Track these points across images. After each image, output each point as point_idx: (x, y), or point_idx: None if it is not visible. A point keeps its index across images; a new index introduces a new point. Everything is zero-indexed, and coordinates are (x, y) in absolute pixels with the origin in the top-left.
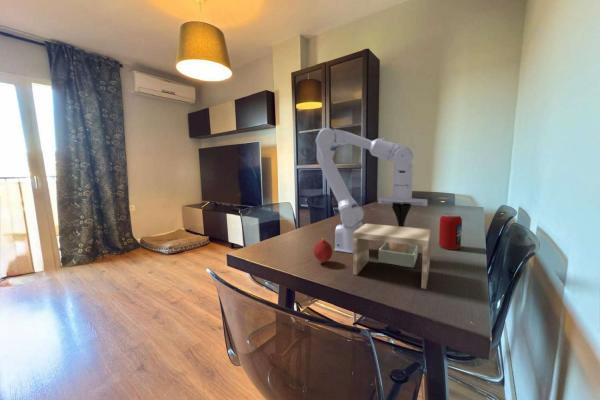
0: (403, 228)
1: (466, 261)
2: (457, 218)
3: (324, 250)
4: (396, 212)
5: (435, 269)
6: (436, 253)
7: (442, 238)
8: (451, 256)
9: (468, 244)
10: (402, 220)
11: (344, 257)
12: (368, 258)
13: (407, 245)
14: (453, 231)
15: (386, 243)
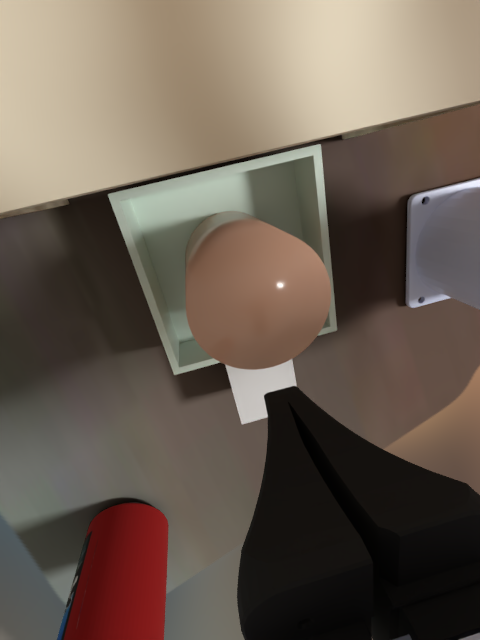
0: (116, 66)
1: (4, 428)
2: None
3: None
4: (377, 462)
5: (43, 252)
6: (137, 436)
7: (140, 539)
8: (76, 442)
9: None
10: (282, 426)
11: None
12: (349, 133)
13: (185, 277)
14: (83, 595)
15: (326, 322)
